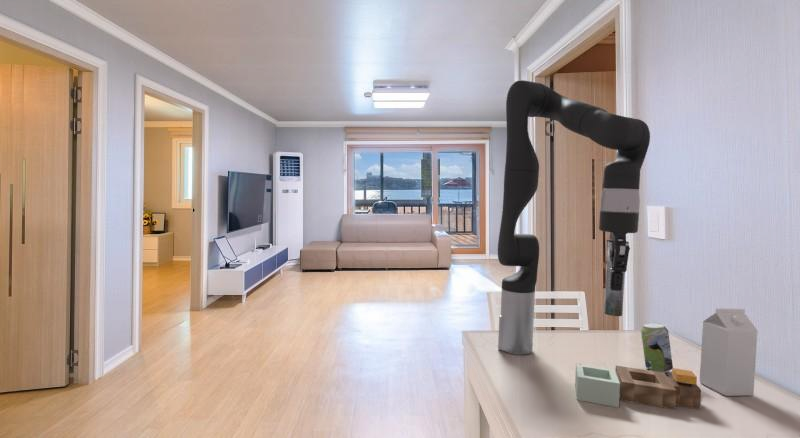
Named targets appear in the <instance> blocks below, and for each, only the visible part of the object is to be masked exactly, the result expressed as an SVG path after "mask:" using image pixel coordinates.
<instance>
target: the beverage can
mask: <svg viewBox="0 0 800 438" xmlns="http://www.w3.org/2000/svg"><path fill="white" fill-rule="evenodd" d="M640 332H641V340H642V349H643V357H644V363H645V364H644V365H645V367H646V368H647V370H649V371H656V372H662V373H665V374H666V373H668V372H670V371H672V368H674V366H673V358H672V350H671V341H670V333H669V330H668V329H667V327H666V325H665V324H664V323H660V322H646V323H644V324H642V327H641V330H640Z"/></svg>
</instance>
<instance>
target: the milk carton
mask: <svg viewBox="0 0 800 438" xmlns="http://www.w3.org/2000/svg"><path fill="white" fill-rule="evenodd" d="M745 313H746V309H745V308H722V307H721V308H720V307H719V308H715V313H713V314H712V315H710V316H709V317H707V318H706V319H704V320H703V321H702V333H701V334H702V335H701V348H700V349H701V352H700V366H699V367H700V368H699V383H700V384H702V385H704V386H706V387H708V388H710V389H712V390H714V391H715V392H716V393H717V392H718V393H719V394H721V395H723V396H730V397H731V396H754V391H755V390H754V389H755V379H756V378H755V373H756V362H757V361H756V359H757V344H758V329H757V327H756V326H755V325H754V324H753V323H752V320H750V318H749V317H748V316H747V315H746V314H745Z"/></svg>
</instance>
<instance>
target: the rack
mask: <svg viewBox="0 0 800 438" xmlns="http://www.w3.org/2000/svg"><path fill="white" fill-rule="evenodd" d="M574 377H575V378H574V381H575V382H574V388H575V397H576V400H577V401H581V402H588V403H593V404H598V405H604V406H608V407H615V408H619V406H620V395H619V391H620V382H619V380H618V377H617V375H616V372H615V369H613V368H605V367H601V366H594V365H587V364H580V363H576V364H575V376H574Z"/></svg>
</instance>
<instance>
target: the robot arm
mask: <svg viewBox="0 0 800 438" xmlns="http://www.w3.org/2000/svg"><path fill="white" fill-rule="evenodd" d="M505 105H506V106H505V107H506V109H505V112H506V115H505V116H506V149H505V150H506V151H505V152H506V153H505V164H504V176H503V199H502V212H501V218H500V219H501V222H500V228H499V233H498V242H497V259H498V261H499V264H500V265H502V266H505V267H520V268H519V270H518V271H517V272H516V273H514V274H511V275H508V276H506V277H504V278H503V279H502V280H501V293H500V294H501V297H500V315H499V319H498V338H497V339H498V340H497V350H499V351H503V352H506V353H509V354H513V355H528V354H531V353H532V352H533V346H534V343H533V342H534V341H533V340H534V320H535V300H536V299H535V298H536V286H537V285H536V284H537V279H538V270H539V269H538V268H539V262H540V261H539V259H540V243H539V240H538V238H537V236H536V235H534V234H531V233H530V234H529V233H527V234H526V233H515V231H516V227H517V222H518V220H519V217H520V216H521V214H522V212H523V211H524V210H525V208H526V207H527V205H528V204H529V203H530V201H531V200H532V199H533V197H534V196H535V194H536V192H537V190H538V188H539V187H538V186H539V175H540V163H539V157H538V156H537V153H536V151H535V149H534V146H533V144H532V141H531V139H530V135H529V134H530V133H529V118H545V119H551V120H553V121H556V122H558V123H559V124H560V125H561V126H562V127H564V128H565V129H567V130H569V131H571V132H573V133H575V134H578V135H580V136H583V137H585V138H588V139H589V140H591V141H592V142H595V144H597V145H600V146H602V147H603V148H607V149H610V150H615V151H617V153H616V156H615V159H614V161H611V162H608V163H607V164H605V166H604V169H603V178H602V180H603V181H602V192H601V197H600V207H599V209H600V210H599V220H598V221H599V223H598V229H599V230H600V232H606V233H609V237H608V239H605V246H606V251H605V259H606V260H605V265H606V266H607V255H608V250H609V261H610V262H611V269H610V271H611V282H610V289H611V290H614V291H621V290H622V283H623V274H624V272H625V273H626V272H627V270H628V261H629V254H630V250H631V247H630V243H629V242H630V241H627V234H636V233H638V231H639V220H640V219H639V218H640V217H639V216H640V203H641V199H640V184H641V183H640V182H641V179H640V178H641V169H642V166H643V164H644V162H645V158H646V155H647V152H648V149H649V147H650V146H649V145H650V141H651V132H650V129H649V126H648V124H647V123H646V122H645V121H644V120H642V119H639V118H635V117H634V118H633V117H628V116H623V115H618V114H615V113H612V112H608V111H607V110H606V109H604V108H602V107H599V106H595V105H592V104H589V103H585V102H582V101H579V100H577V99H576V100H574V99H571V98H569V97H566V96H564V95H562V94H561V93H559V92H557V91H555V90H554V89H552V88H550V87H549V86H547V85H546V84H543V83H541V82H536V81H530V80H522V79H518V80H516V81H514V82H513V83H512V84H511V85H510V87H509V89H508V92H507V95H506V101H505ZM613 256H614V258H613ZM617 262H620V263H621V266H616V264H617Z"/></svg>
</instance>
